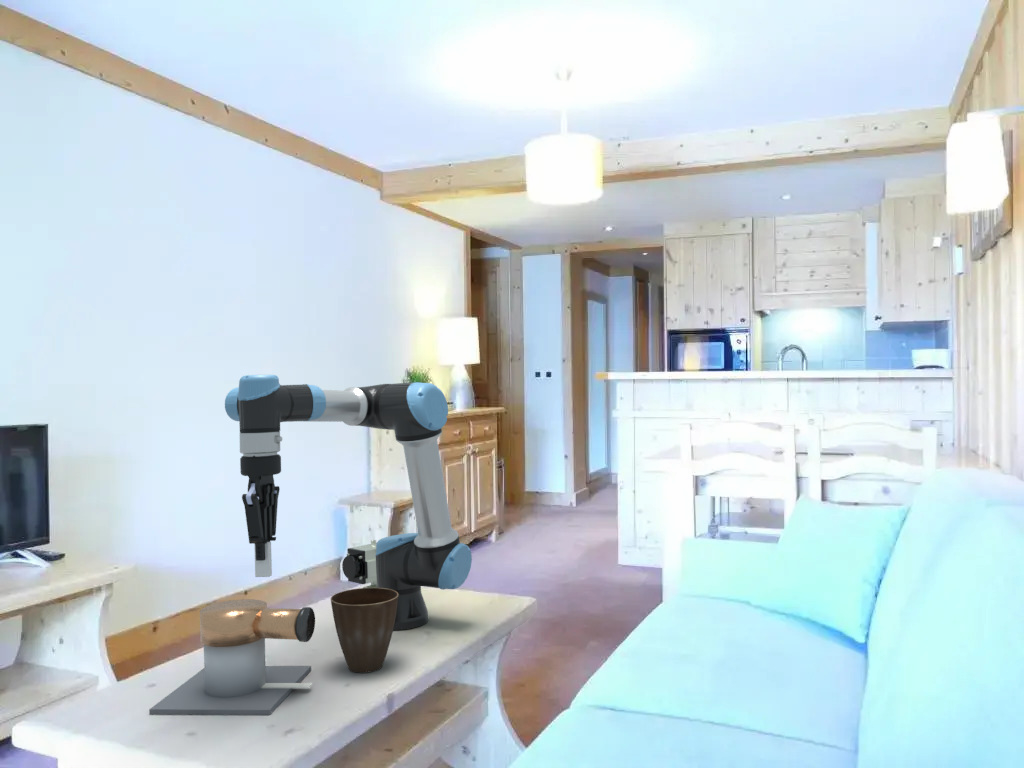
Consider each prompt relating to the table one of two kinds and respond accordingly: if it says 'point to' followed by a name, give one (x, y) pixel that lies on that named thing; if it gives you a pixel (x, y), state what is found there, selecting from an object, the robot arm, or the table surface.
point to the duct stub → (234, 684)
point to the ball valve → (361, 565)
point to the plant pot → (364, 625)
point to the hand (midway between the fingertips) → (263, 575)
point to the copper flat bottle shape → (253, 623)
